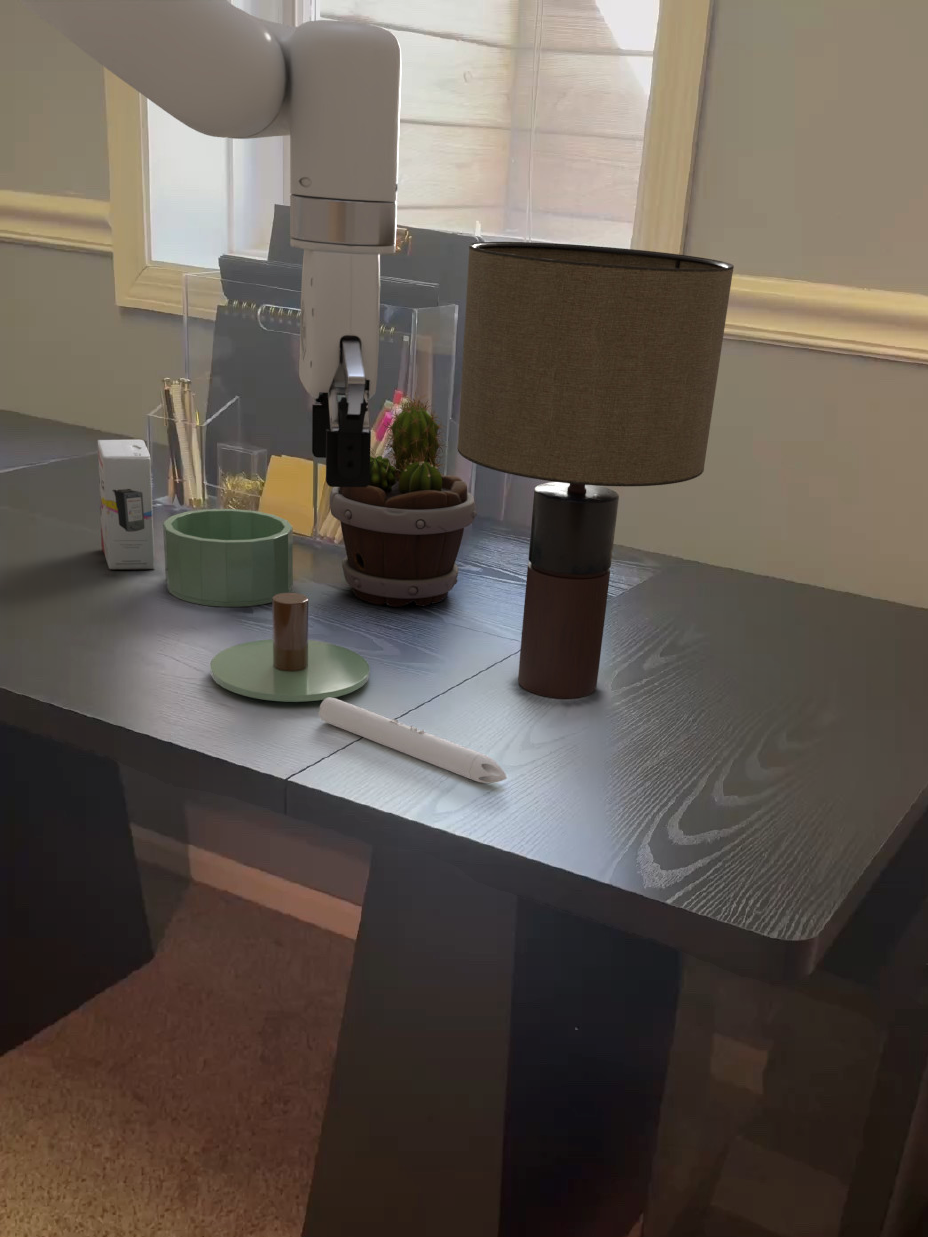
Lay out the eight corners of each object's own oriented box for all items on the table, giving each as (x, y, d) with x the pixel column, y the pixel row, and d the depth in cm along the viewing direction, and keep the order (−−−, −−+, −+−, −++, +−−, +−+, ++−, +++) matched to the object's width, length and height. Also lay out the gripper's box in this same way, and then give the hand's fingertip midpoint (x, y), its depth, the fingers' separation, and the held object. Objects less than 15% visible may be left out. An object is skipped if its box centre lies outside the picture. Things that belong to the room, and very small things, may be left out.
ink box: (101, 548, 143) (93, 437, 137) (148, 547, 144) (142, 438, 139) (108, 571, 135) (100, 456, 130) (157, 570, 137) (152, 456, 131)
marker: (513, 786, 96) (516, 757, 95) (497, 795, 95) (499, 766, 94) (335, 717, 106) (336, 690, 105) (318, 724, 104) (318, 697, 103)
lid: (224, 713, 105) (221, 628, 101) (199, 655, 116) (196, 576, 113) (386, 703, 109) (389, 620, 106) (348, 647, 120) (349, 571, 117)
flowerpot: (441, 625, 127) (453, 414, 118) (301, 599, 132) (302, 393, 122) (491, 587, 140) (506, 393, 130) (361, 564, 144) (366, 374, 134)
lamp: (715, 693, 116) (785, 267, 100) (567, 749, 103) (619, 269, 86) (549, 631, 128) (586, 242, 112) (397, 673, 115) (414, 240, 99)
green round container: (175, 609, 126) (172, 543, 123) (160, 571, 137) (156, 509, 134) (303, 604, 130) (303, 540, 127) (278, 567, 141) (278, 507, 138)
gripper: (280, 216, 99) (281, 446, 107) (302, 232, 84) (301, 497, 92) (377, 222, 101) (371, 448, 109) (416, 239, 86) (405, 499, 94)
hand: (339, 470), depth 101 cm, fingers open, 9 cm apart
